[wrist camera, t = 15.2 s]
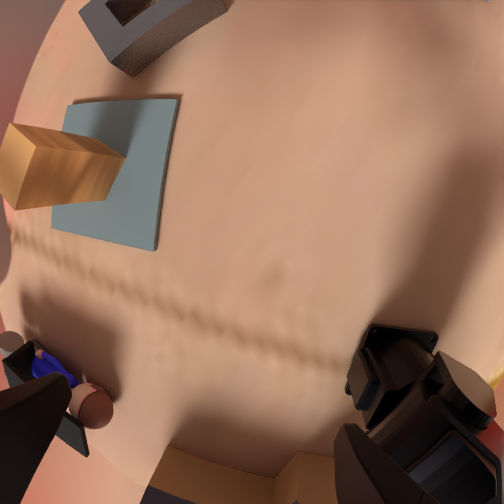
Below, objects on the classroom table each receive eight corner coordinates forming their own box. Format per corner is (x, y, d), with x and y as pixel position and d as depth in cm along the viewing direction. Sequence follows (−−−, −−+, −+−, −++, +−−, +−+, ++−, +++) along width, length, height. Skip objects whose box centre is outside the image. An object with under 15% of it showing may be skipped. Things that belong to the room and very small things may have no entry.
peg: (96, 138, 19) (9, 122, 10) (126, 158, 19) (35, 146, 10) (77, 178, 19) (-10, 180, 11) (105, 200, 19) (14, 210, 11)
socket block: (176, -30, 15) (163, -51, 12) (226, 11, 16) (216, -14, 12) (98, 26, 17) (78, 11, 13) (132, 77, 18) (109, 62, 14)
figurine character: (36, 358, 27) (122, 424, 25) (-4, 381, 20) (83, 464, 17) (31, 316, 26) (123, 385, 23) (-15, 337, 18) (74, 428, 16)
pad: (179, 100, 18) (176, 99, 17) (156, 250, 20) (153, 251, 20) (71, 106, 19) (67, 105, 18) (54, 227, 21) (51, 228, 21)
